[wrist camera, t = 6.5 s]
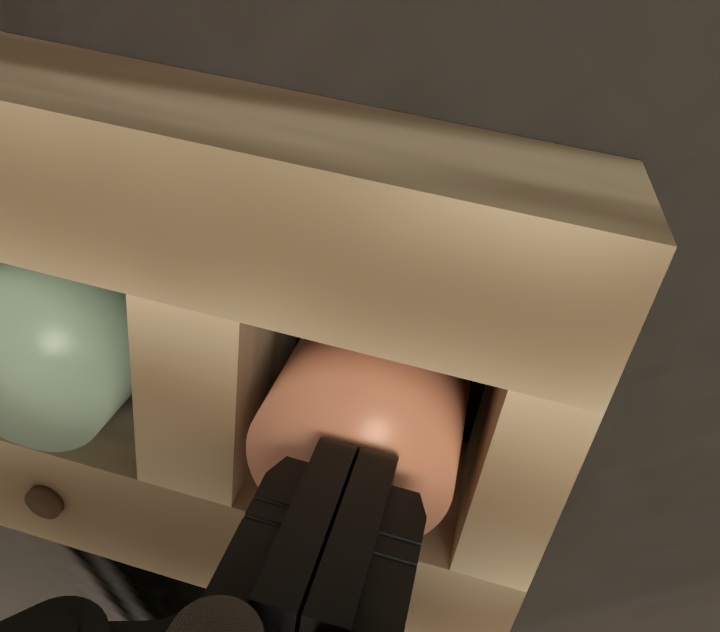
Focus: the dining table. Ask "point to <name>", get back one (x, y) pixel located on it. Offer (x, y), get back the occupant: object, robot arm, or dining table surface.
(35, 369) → the sage button
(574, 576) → the dining table surface
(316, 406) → the terracotta button
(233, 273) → the button panel
